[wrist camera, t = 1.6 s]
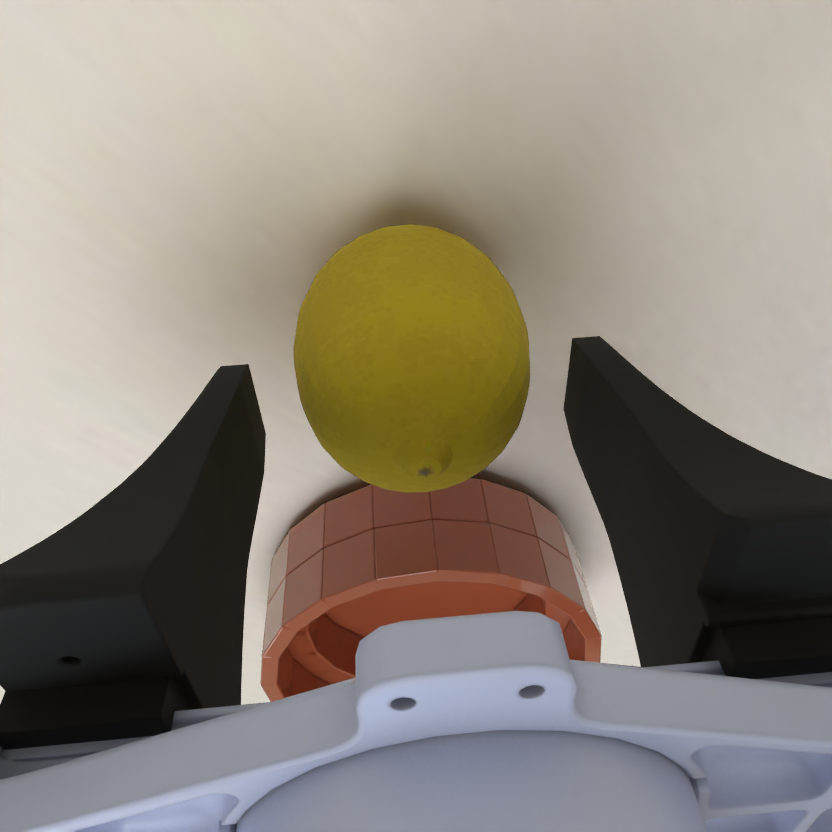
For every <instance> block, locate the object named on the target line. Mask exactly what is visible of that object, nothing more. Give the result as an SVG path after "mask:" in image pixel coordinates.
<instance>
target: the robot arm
mask: <svg viewBox="0 0 832 832" xmlns="http://www.w3.org/2000/svg"><path fill="white" fill-rule="evenodd" d="M564 412H565V416H566V421H567V425H568V429H569V433H570V437H571V441H572V445H573V448H574V450H575V453H576V456H577V458H578V461H579V463H580V466H581V468H582V471H583V473H584V476H585V478H586V481H587V483H588V486H589V488H590V490H591V493H592V495H593V498H594V500H595V503H596V505H597V508H598V510H599V513H600V515H601V518H602V520H603V522H604V525H605V528H606V531H607V534H608V537H609V540H610V543H611V547H612V550H613V554H614V558H615V561H616V565H617V568H618V572H619V576H620V580H621V584H622V587H623V591H624V595H625V599H626V603H627V607H628V611H629V615H630V620H631V624H632V628H633V633H634V637H635V641H636V646H637V650H638V654H639V659H640V664H641V667H636V666H626V665H617V664H608V663H598V662H589V661H579V660H570V659H569V656H568V652H567V648H566V644H565V640H564V637H563V633H562V630H561V627H560V624H559V623H558V622H556V621H554V620H553V619H551V618H549V617H547V616H545V615H543V614H541V613H539V612H526V611H508V612H496V613H485V614H474V615H463V616H452V617H441V618H430V619H419V620H408V621H401V622H397V623H392V624H388V625H384V626H380V627H379V628H377V629H376V630H374V631H373V632H371V633H370V634H369V635H367V636H366V637H364V638H363V639H362V640H360V642H359V645H358V649H357V652H356V655H355V661H356V677H355V678H352V679H348V680H345V681H342V682H338V683H335V684H331V685H328V686H324V687H321V688H317V689H314V690H311V691H307V692H304V693H300V694H297V695H293V696H290V697H286V698H283V699H280V700H276V701H273V702H267V703H257V704H246V705H241V675H242V645H243V626H244V607H245V592H246V577H247V567H248V559H249V552H250V547H251V542H252V536H253V531H254V525H255V520H256V514H257V509H258V503H259V498H260V492H261V487H262V481H263V475H264V462H265V436H266V433H265V429H264V425H263V421H262V417H261V413H260V409H259V405H258V401H257V397H256V393H255V389H254V385H253V381H252V377H251V372H250V368H249V364H245V365H233V366H221V367H220V368H219V369H218V370H217V371H216V373H215V374H214V376H213V377H212V378H211V380H210V381H209V383H208V384H207V385H206V387H205V388H204V390H203V391H202V392H201V394H200V395H199V397H198V398H197V399H196V401H195V402H194V403H193V405H192V406H191V407H190V409H189V410H188V411H187V413H186V414H185V415H184V416H183V418H182V419H181V420H180V422H179V423H178V424H177V426H176V427H175V428H174V429H173V430H172V432H171V433H170V434H169V435H168V436H167V437H166V439H165V440H164V441H163V442H162V443H161V444H160V445H159V447H158V448H157V449H156V450H155V451H154V452H153V453H152V454H151V456H150V457H149V458H148V459H147V460H146V461H145V462H144V463H143V464H142V465H141V466H140V467H139V468H138V469H137V470H136V471H135V472H133V473H132V474H131V475H130V476H129V477H128V478H127V479H126V480H125V481H124V482H123V483H121V484H120V485H119V486H118V487H117V488H115V489H114V490H113V491H112V492H110V493H109V494H108V495H107V496H105V497H104V498H103V499H102V500H100V501H99V502H98V503H97V504H96V505H94V506H93V507H92V508H91V509H89V510H88V511H86V512H85V513H84V514H82V515H81V516H79V517H78V518H77V519H75V520H74V521H72V522H71V523H69V524H68V525H66V526H65V527H63V528H62V529H60V530H59V531H57V532H56V533H54V534H53V535H51V536H49V537H48V538H46V539H45V540H43V541H41V542H40V543H38V544H36V545H34V546H33V547H31V548H29V549H27V550H26V551H24V552H22V553H20V554H19V555H17V556H15V557H13V558H11V559H10V560H8V561H6V562H4V563H2V564H0V685H1V686H2V687H3V689H4V690H5V694H4V697H3V699H2V702H1V704H0V832H832V480H831V479H828V478H825V477H822V476H819V475H816V474H813V473H811V472H808V471H806V470H803V469H801V468H798V467H796V466H793V465H791V464H788V463H786V462H783V461H781V460H779V459H776V458H774V457H772V456H770V455H767V454H765V453H763V452H761V451H759V450H757V449H755V448H753V447H751V446H749V445H747V444H745V443H743V442H741V441H739V440H737V439H736V438H734V437H732V436H730V435H728V434H726V433H725V432H723V431H721V430H720V429H718V428H716V427H715V426H713V425H712V424H710V423H708V422H707V421H705V420H703V419H702V418H700V417H699V416H697V415H696V414H694V413H693V412H691V411H690V410H688V409H687V408H686V407H684V406H683V405H681V404H680V403H679V402H677V401H676V400H674V399H673V398H672V397H670V396H669V395H668V394H667V393H665V392H664V391H663V390H661V389H660V388H659V387H658V386H656V385H655V384H654V383H653V382H651V381H650V380H649V379H648V378H647V377H645V376H644V375H643V374H642V373H641V372H640V371H638V370H637V369H636V368H635V367H634V366H633V365H631V364H630V363H629V362H628V361H627V360H626V359H625V358H624V357H622V356H621V355H620V354H619V353H618V352H617V351H616V350H615V349H613V348H612V347H611V346H610V345H609V344H608V343H607V342H606V341H604V340H603V339H602V338H601V337H600V336H597V337H584V338H572V346H571V354H570V362H569V370H568V378H567V386H566V394H565V402H564Z"/></svg>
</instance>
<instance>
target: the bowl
mask: <svg viewBox="0 0 832 832" xmlns="http://www.w3.org/2000/svg"><path fill="white" fill-rule="evenodd" d="M508 611H526V612H539V613H541V614H543V615H545V616H547V617H549V618H551V619H553V620H554V621H556V622H558V623H559V624H560V627H561V630H562V633H563V637H564V640H565V644H566V648H567V652H568V656H569V659H570V660H579V661H589V662H598V663H600V656H601V632H600V629H599V626H598V623H597V619H596V616H595V613H594V610H593V606H592V603H591V600H590V596H589V593H588V590H587V587H586V583H585V580H584V577H583V573H582V570H581V567H580V564H579V560H578V557H577V554H576V550H575V547H574V544H573V542H572V541H571V539H570V537H569V535H568V534H567V532H566V530H565V528H564V527H563V525H562V523H561V521H560V519H559V518H558V517H557V516H556V515H555V514H553V513H552V512H551V511H549V510H548V509H547V508H545V507H544V506H542V505H541V504H540V503H538V502H537V501H536V500H534V499H533V498H531V497H530V496H529V495H527V494H525V493H523V492H520V491H517V490H514V489H511V488H508V487H505V486H502V485H499V484H496V483H493V482H490V481H487V480H483V479H476V478H469V479H468V480H466V481H464V482H461V483H459V484H456V485H453V486H451V487H448V488H445V489H440V490H434V491H429V492H407V493H406V492H399V491H393V490H387V489H384V488H381V487H378V486H375V485H372V484H371V485H368V486H365V487H363V488H361V489H358V490H356V491H353V492H351V493H348V494H346V495H343V496H341V497H338V498H336V499H333V500H331V501H329V502H327V503H324V504H322V505H321V506H320V507H318V508H317V509H316V510H315V511H313V512H312V513H311V514H310V515H308V516H307V517H306V518H304V519H303V520H302V521H301V522H299V523H298V524H297V525H295V526H294V527H293V528H292V529H291V530H290V531H289V532H288V534H287V536H286V537H285V539H284V541H283V542H282V544H281V546H280V547H279V549H278V551H277V553H276V554H275V556H274V558H273V559H272V563H271V573H270V582H269V592H268V602H267V611H266V621H265V631H264V640H263V650H262V664H261V686H262V688H263V690H264V691H265V693H266V695H267V696H268V698H269V700H270V702H273V701H276V700H280V699H283V698H286V697H290V696H293V695H297V694H300V693H304V692H307V691H311V690H314V689H317V688H321V687H324V686H328V685H331V684H335V683H338V682H342V681H345V680H348V679H352V678H355V677H356V661H355V655H356V652H357V649H358V645H359V642H360V640H362V639H363V638H364V637H366V636H367V635H369V634H370V633H371V632H373V631H374V630H376V629H377V628H379V627H380V626H384V625H388V624H392V623H397V622H401V621H408V620H419V619H430V618H441V617H452V616H463V615H474V614H485V613H496V612H508Z"/></svg>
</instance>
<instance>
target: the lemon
mask: <svg viewBox="0 0 832 832" xmlns="http://www.w3.org/2000/svg"><path fill="white" fill-rule="evenodd" d="M294 366H295V372H296V378H297V384H298V390H299V395H300V400H301V403H302V406H303V410H304V412H305V414H306V417H307V419H308V421H309V423H310V425H311V427H312V429H313V431H314V433H315V435H316V437H317V439H318V440H319V442H320V444H321V445H322V447H323V448H324V449H325V450H326V451H327V452H328V453H329V454H330V455H331V456H332V457H333V459H334V460H335V461H336V462H337V463H338V464H339V465H340V466H341V467H342V468H344V469H345V470H347V471H348V472H350V473H351V474H353V475H355V476H356V477H358V478H359V479H361V480H363V481H365V482H367V483H370V484H373V485H375V486H378V487H381V488H384V489H387V490H393V491H399V492H406V493H407V492H429V491H434V490H440V489H445V488H448V487H451V486H453V485H456V484H459V483H461V482H464V481H466V480H468V479H469V478H471V477H472V476H474V475H476V474H477V473H479V472H480V471H482V470H483V469H484V468H486V467H487V466H488V465H489V464H490V463H491V462H492V461H493V460H494V459H495V458H496V457H497V456H498V455H499V454H500V453H501V452H502V451H503V450H504V448H505V447H506V445H507V444H508V442H509V441H510V439H511V437H512V436H513V434H514V433H515V431H516V429H517V428H518V426H519V423H520V420H521V418H522V414H523V410H524V406H525V403H526V399H527V395H528V389H529V381H530V359H529V340H528V332H527V328H526V324H525V321H524V318H523V315H522V313H521V310H520V307H519V304H518V302H517V299H516V297H515V294H514V291H513V290H512V288H511V286H510V284H509V283H508V282H507V280H506V279H505V278H504V276H503V275H502V274H501V273H500V271H499V270H498V269H497V267H496V266H495V265H494V264H493V262H492V261H491V260H490V258H489V257H487V256H486V255H485V254H484V253H483V252H481V251H480V250H479V249H477V248H476V247H474V246H473V245H472V244H470V243H469V242H468V241H466V240H465V239H464V238H461V237H459V236H456V235H454V234H451V233H449V232H446V231H444V230H441V229H439V228H436V227H430V226H422V225H414V224H406V225H397V226H388V227H383V228H380V229H377V230H375V231H372V232H369V233H366V234H363V235H361V236H359V237H358V238H356V239H355V240H353V241H352V242H350V243H349V244H347V245H346V246H344V247H343V248H341V249H340V250H338V251H337V252H336V253H335V254H334V255H333V256H332V257H331V259H330V260H329V261H328V262H327V263H326V264H325V265H324V266H323V268H322V269H321V270H320V271H319V272H318V274H317V275H316V276H315V279H314V281H313V283H312V285H311V287H310V289H309V291H308V293H307V295H306V297H305V299H304V301H303V303H302V305H301V308H300V312H299V316H298V323H297V329H296V336H295V342H294Z"/></svg>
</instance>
